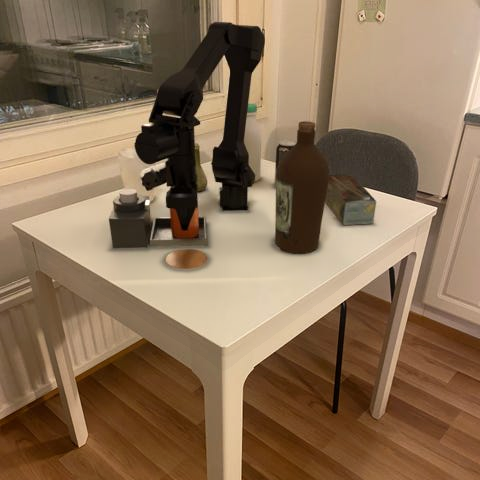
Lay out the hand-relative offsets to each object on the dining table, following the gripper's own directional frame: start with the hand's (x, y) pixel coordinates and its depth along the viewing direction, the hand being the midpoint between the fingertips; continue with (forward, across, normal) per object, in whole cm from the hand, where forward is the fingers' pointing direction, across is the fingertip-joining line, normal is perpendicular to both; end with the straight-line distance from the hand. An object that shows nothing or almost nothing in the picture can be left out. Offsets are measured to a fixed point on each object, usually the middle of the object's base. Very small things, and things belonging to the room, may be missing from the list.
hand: (184, 224), depth 107 cm
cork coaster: (+3, +12, 0) cm, 12 cm away
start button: (-6, 0, -12) cm, 13 cm away
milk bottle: (+3, -38, +17) cm, 42 cm away
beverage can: (+3, -32, +27) cm, 42 cm away
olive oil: (+3, +6, +24) cm, 25 cm away
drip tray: (+3, 0, -1) cm, 3 cm away
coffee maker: (+3, 0, -12) cm, 12 cm away
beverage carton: (+3, -13, +40) cm, 42 cm away
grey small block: (-3, 0, -8) cm, 8 cm away
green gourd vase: (+3, -30, +3) cm, 30 cm away
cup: (+3, -22, -12) cm, 26 cm away
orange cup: (+2, 0, 0) cm, 2 cm away
